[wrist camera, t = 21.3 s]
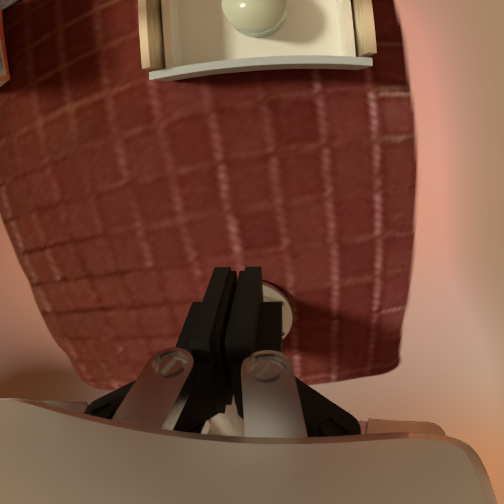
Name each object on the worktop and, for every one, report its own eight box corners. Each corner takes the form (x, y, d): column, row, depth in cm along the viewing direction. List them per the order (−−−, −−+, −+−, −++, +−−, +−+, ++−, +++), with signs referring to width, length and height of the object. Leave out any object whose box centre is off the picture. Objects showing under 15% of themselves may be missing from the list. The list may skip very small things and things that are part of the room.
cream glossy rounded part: (287, 36, 28) (288, 28, 24) (230, 39, 29) (223, 32, 25) (283, -11, 25) (283, -25, 22) (227, -8, 26) (220, -20, 22)
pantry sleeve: (356, 61, 30) (376, 53, 23) (169, 72, 32) (142, 68, 25) (345, -36, 24) (360, -63, 17) (163, -22, 26) (137, -43, 19)
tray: (358, 70, 30) (372, 65, 24) (169, 81, 32) (149, 79, 27) (347, -29, 24) (358, -48, 19) (162, -15, 26) (143, -30, 21)
